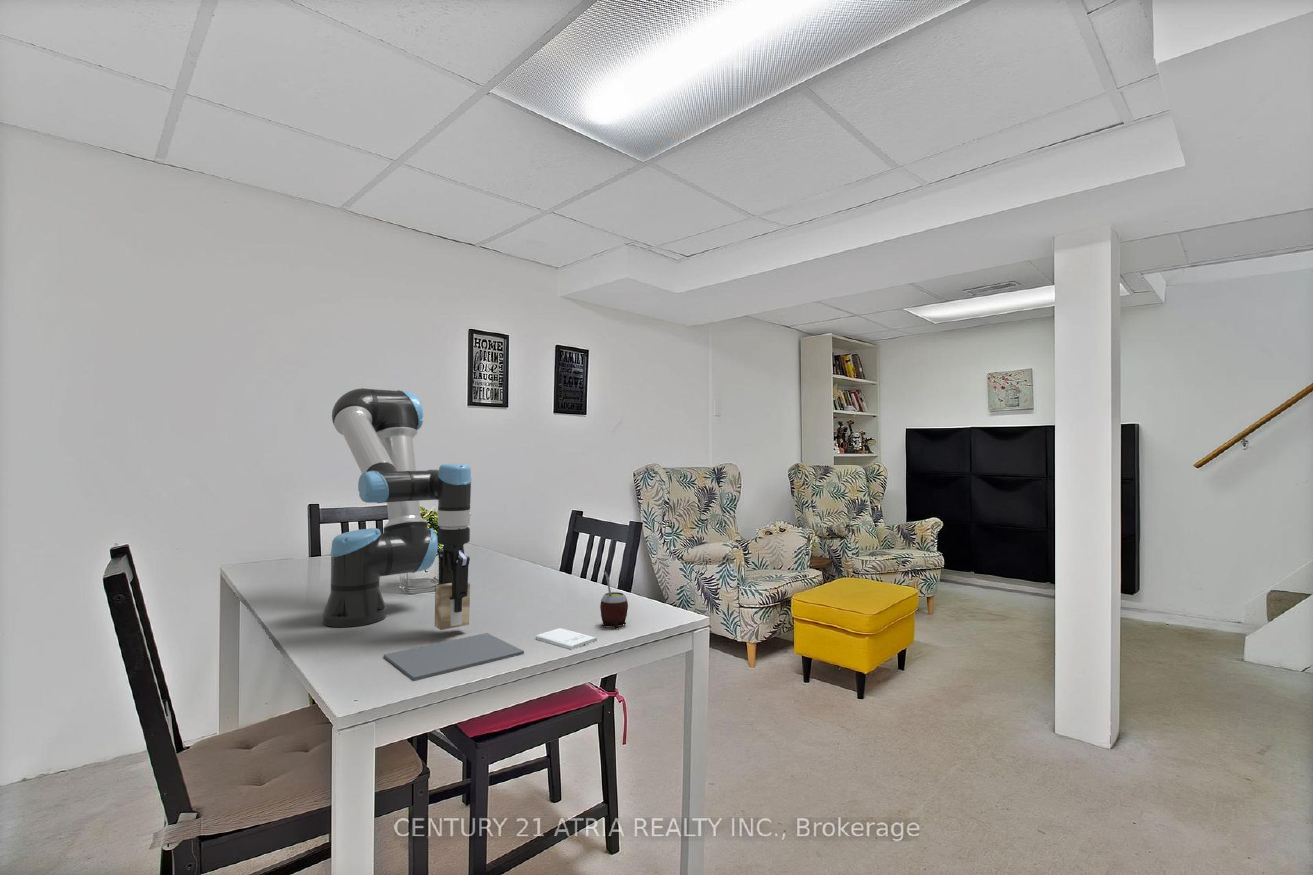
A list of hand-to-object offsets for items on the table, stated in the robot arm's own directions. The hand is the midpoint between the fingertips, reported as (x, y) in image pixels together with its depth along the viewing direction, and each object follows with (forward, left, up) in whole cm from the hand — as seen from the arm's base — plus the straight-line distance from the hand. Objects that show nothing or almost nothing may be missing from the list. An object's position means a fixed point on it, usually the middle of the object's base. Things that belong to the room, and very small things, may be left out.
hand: (452, 622), depth 148 cm
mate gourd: (+21, +34, -3) cm, 40 cm away
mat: (+16, -6, -3) cm, 17 cm away
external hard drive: (+22, +19, -4) cm, 29 cm away
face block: (0, 0, -1) cm, 1 cm away
